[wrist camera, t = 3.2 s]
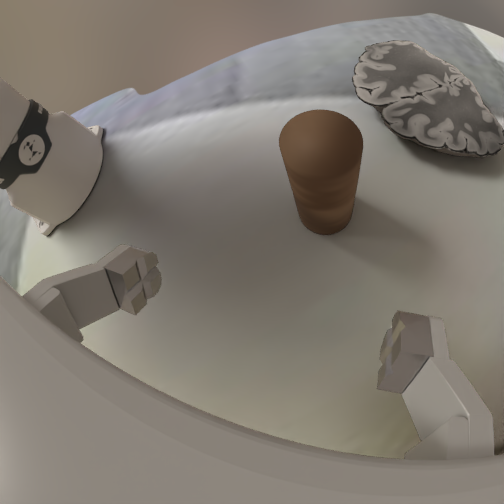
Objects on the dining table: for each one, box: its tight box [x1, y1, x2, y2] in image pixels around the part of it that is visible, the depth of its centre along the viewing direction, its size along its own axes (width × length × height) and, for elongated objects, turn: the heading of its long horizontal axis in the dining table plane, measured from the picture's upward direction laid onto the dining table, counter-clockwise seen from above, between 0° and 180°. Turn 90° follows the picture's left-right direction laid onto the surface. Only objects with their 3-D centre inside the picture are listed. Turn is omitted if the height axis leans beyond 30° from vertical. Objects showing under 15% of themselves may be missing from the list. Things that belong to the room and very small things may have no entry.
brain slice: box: [352, 40, 504, 158], centre depth 22 cm, size 20×17×3 cm
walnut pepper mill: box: [279, 110, 363, 235], centre depth 19 cm, size 5×5×10 cm
